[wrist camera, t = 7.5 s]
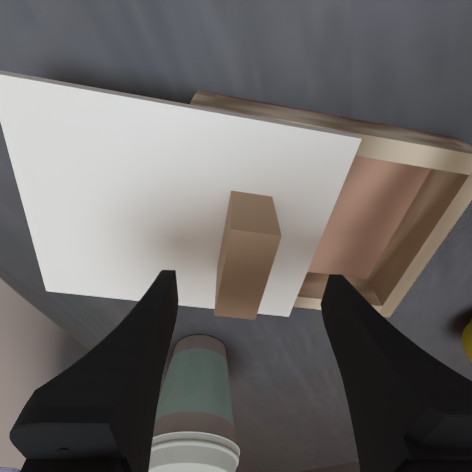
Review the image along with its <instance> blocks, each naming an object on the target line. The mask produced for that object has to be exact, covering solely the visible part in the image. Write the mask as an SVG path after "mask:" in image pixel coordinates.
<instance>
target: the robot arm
mask: <svg viewBox="0 0 472 472" xmlns="http://www.w3.org/2000/svg"><path fill="white" fill-rule="evenodd" d="M320 305H321V310H322V315H323V320H324V325H325V328H326V331H327V334H328V337H329V340H330V343H331V346H332V348H333V351H334V354H335V357H336V360H337V363H338V366H339V369H340V372H341V376H342V379H343V383H344V388H345V392H346V396H347V401H348V405H349V410H350V415H351V420H352V425H353V430H354V435H355V441H356V446H357V452H358V458H359V464H360V470H361V472H472V381H470V380H469V379H467V378H465V377H463V376H462V375H460V374H459V373H457V372H455V371H454V370H452V369H451V368H449V367H447V366H446V365H444V364H443V363H441V362H440V361H438V360H437V359H435V358H434V357H432V356H431V355H430V354H428V353H427V352H425V351H424V350H423V349H421V348H420V347H419V346H417V345H416V344H415V343H413V342H412V341H411V340H409V339H408V338H407V337H406V336H405V335H403V334H402V333H401V332H400V331H398V330H397V329H396V328H395V327H394V326H393V325H392V324H390V323H389V322H388V321H387V320H386V319H385V318H384V317H383V316H382V315H381V314H380V313H379V312H378V311H377V310H376V309H375V308H374V307H373V306H372V305H371V304H370V303H369V302H368V301H367V300H366V299H365V298H364V297H363V296H362V295H361V294H360V293H359V292H358V291H357V290H356V289H355V288H354V287H353V285H352V284H351V283H350V282H349V281H348V280H347V279H346V278H345V277H344V276H343V275H340V274H329V277H328V281H327V284H326V287H325V291H324V294H323V297H322V301H321V304H320ZM177 309H178V290H177V280H176V270H162V271H160V273H159V274H158V276H157V277H156V279H155V280H154V282H153V283H152V285H151V286H150V287H149V289H148V290H147V292H146V293H145V294H144V295H143V297H142V298H141V299H140V301H139V302H138V303H137V304H136V306H135V307H134V308H133V309H132V310H131V311H130V313H129V314H128V315H127V316H126V317H125V318H124V319H123V320H122V321H121V323H120V324H119V325H118V326H117V327H116V328H115V329H114V330H113V331H112V332H111V333H110V334H109V335H108V336H106V337H105V338H104V339H103V340H102V341H101V342H100V343H99V344H98V345H96V346H95V347H94V348H93V349H92V350H91V351H89V352H88V353H87V354H86V355H85V356H83V357H82V358H81V359H79V360H78V361H77V362H76V363H74V364H73V365H72V366H70V367H69V368H68V369H66V370H65V371H63V372H62V373H61V374H59V375H58V376H56V377H55V378H53V379H52V380H50V381H49V382H47V383H46V384H44V385H43V386H41V387H40V388H38V389H36V390H35V391H34V393H33V394H32V396H31V397H30V399H29V400H28V402H27V403H26V405H25V406H24V408H23V410H22V412H21V413H20V415H19V417H18V419H17V421H16V422H15V424H14V426H13V428H12V430H11V431H10V440H11V442H12V443H13V445H14V446H15V447H16V448H17V449H18V450H19V451H20V452H21V453H22V454H23V455H24V457H25V458H26V461H25V463H24V465H23V467H22V469H21V470H19V469H16V468H9V467H0V472H148V471H149V463H150V455H151V447H152V440H153V432H154V425H155V418H156V411H157V405H158V398H159V392H160V385H161V379H162V374H163V369H164V365H165V361H166V357H167V353H168V349H169V346H170V342H171V338H172V334H173V330H174V326H175V322H176V316H177Z"/></svg>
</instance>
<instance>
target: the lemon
mask: <svg viewBox="0 0 472 472" xmlns="http://www.w3.org/2000/svg"><path fill="white" fill-rule="evenodd" d="M462 345H463V348H464V351H465V353H466V355H467V357H468V359H469V360H470V362H471V363H472V318H471V320H470V323H469V324H468V325H467V326H466V327H465V329H464V331H463V333H462Z"/></svg>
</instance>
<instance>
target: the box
mask: <svg viewBox="0 0 472 472" xmlns="http://www.w3.org/2000/svg"><path fill="white" fill-rule="evenodd" d="M190 105H196V106H201V107H207V108H212V109H218V110H224V111H229V112H235V113H240V114H246V115H251V116H257V117H262V118H268V119H274V120H279V121H285V122H290V123H296V124H301V125H307V126H313V127H318V128H324V129H329V130H335V131H340V132H346V133H352V134H357V135H358V136H359V137H360V138H362V140H361V142H360V145H359V147H358V150H357V152H356V155H355V157H354V160H353V162H352V164H351V167H350V169H349V172H348V174H347V177H346V179H345V181H344V184H343V186H342V189H341V191H340V194H339V196H338V198H337V201H336V203H335V206H334V208H333V211H332V213H331V215H330V218H329V220H328V223H327V225H326V228H325V230H324V232H323V235H322V237H321V240H320V242H319V245H318V247H317V249H316V252H315V254H314V257H313V259H312V262H311V264H310V266H309V269H308V271H307V274H306V276H305V279H304V281H303V283H302V286H301V288H300V291H299V293H298V296H297V298H296V300H295V303H294V305H293V307H300V308H309V309H318V310H321V305H320V304H321V301H322V297H323V294H324V291H325V287H326V284H327V281H328V277H329V274H340V275H343V276H344V277H345V278H346V279H347V280H348V281H349V282H350V283H351V284H352V285H353V287H354V288H355V289H356V290H357V291H358V292H359V293H360V294H361V295H362V296H363V297H364V298H365V299H366V300H367V301H368V302H369V303H370V304H371V305H372V306H373V307H374V308H375V309H376V310H377V311H378V312H379V313H380V314H381V315H382V316H383V317H390V316H391V314H392V313H393V311H394V310H395V309H396V307H397V306H398V304H399V303H400V301H401V300H402V299H403V297H404V296H405V294H406V293H407V292H408V290H409V289H410V287H411V286H412V284H413V283H414V282H415V280H416V279H417V277H418V276H419V274H420V273H421V272H422V270H423V269H424V267H425V266H426V265H427V263H428V262H429V260H430V259H431V257H432V256H433V255H434V253H435V252H436V250H437V249H438V247H439V246H440V245H441V243H442V242H443V240H444V239H445V238H446V236H447V235H448V233H449V232H450V230H451V229H452V228H453V226H454V225H455V223H456V222H457V220H458V219H459V218H460V216H461V215H462V213H463V212H464V211H465V209H466V208H467V206H468V205H469V203H470V202H471V201H472V145H470V144H468V143H466V142H464V141H462V140H459V139H457V138H452V137H447V136H441V135H436V134H430V133H425V132H420V131H414V130H409V129H403V128H398V127H393V126H387V125H382V124H376V123H371V122H366V121H360V120H355V119H349V118H344V117H339V116H333V115H328V114H323V113H317V112H312V111H306V110H301V109H296V108H290V107H285V106H279V105H274V104H269V103H263V102H258V101H252V100H247V99H242V98H236V97H231V96H225V95H220V94H215V93H209V92H204V91H198V90H197V91H196V93H195V95H194V97H193V98H192V100H191V102H190Z"/></svg>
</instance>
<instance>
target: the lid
mask: <svg viewBox="0 0 472 472" xmlns="http://www.w3.org/2000/svg"><path fill="white" fill-rule="evenodd" d="M0 122H1V126H2V129H3V133H4V137H5V140H6V144H7V148H8V152H9V155H10V159H11V163H12V166H13V170H14V174H15V177H16V181H17V185H18V189H19V192H20V196H21V200H22V203H23V207H24V211H25V214H26V218H27V222H28V226H29V229H30V233H31V237H32V240H33V244H34V248H35V251H36V255H37V259H38V262H39V266H40V270H41V274H42V277H43V281H44V285H45V288H46V291H50V292H59V293H69V294H78V295H88V296H97V297H107V298H116V299H125V300H135V301H140V299H141V298H142V297H143V295H144V294H145V293H146V292H147V290H148V289H149V287H150V286H151V285H152V283H153V282H154V280H155V279H156V277H157V276H158V274H159V273H160V271H162V270H176V280H177V290H178V305H182V306H192V307H201V308H210V309H215V312H214V315H215V316H224V317H234V318H244V319H253V320H255V319H256V316H257V313H258V314H267V315H276V316H286V317H289V315H290V313H291V310H292V308H293V305H294V303H295V300H296V298H297V296H298V293H299V291H300V288H301V286H302V283H303V281H304V279H305V276H306V274H307V271H308V269H309V266H310V264H311V262H312V259H313V257H314V254H315V252H316V249H317V247H318V245H319V242H320V240H321V237H322V235H323V232H324V230H325V228H326V225H327V223H328V220H329V218H330V215H331V213H332V211H333V208H334V206H335V203H336V201H337V198H338V196H339V194H340V191H341V189H342V186H343V184H344V181H345V179H346V177H347V174H348V172H349V169H350V167H351V164H352V162H353V160H354V157H355V155H356V152H357V150H358V147H359V145H360V142H361V140H362V138H360V137H359V136H358V135H357V134H352V133H346V132H340V131H335V130H329V129H324V128H318V127H313V126H307V125H301V124H296V123H290V122H285V121H279V120H274V119H268V118H262V117H257V116H251V115H246V114H240V113H235V112H229V111H224V110H218V109H212V108H207V107H201V106H196V105H190V104H185V103H179V102H173V101H168V100H162V99H157V98H151V97H146V96H140V95H134V94H129V93H123V92H118V91H112V90H107V89H101V88H96V87H90V86H84V85H79V84H73V83H68V82H62V81H57V80H51V79H45V78H40V77H34V76H29V75H23V74H18V73H12V72H6V71H1V70H0Z"/></svg>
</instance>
